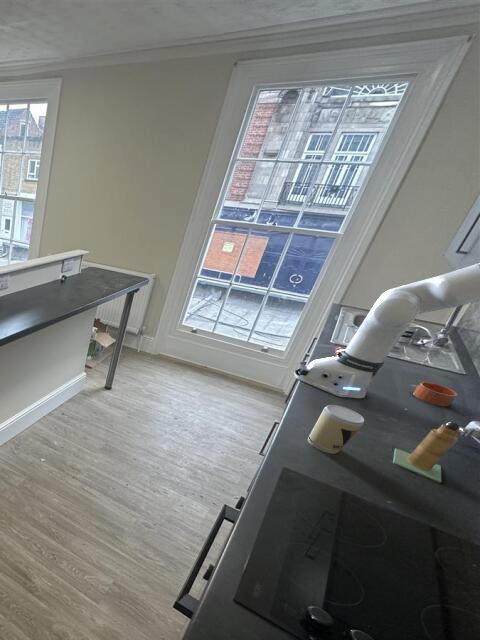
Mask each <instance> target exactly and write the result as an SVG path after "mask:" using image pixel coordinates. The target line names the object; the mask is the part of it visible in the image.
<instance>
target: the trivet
mask: <svg viewBox="0 0 480 640" xmlns="http://www.w3.org/2000/svg"><path fill="white" fill-rule="evenodd" d="M410 454H411V453H409V452H407V451H404V450H402V449H399V448H397V447H396V448H394V453H393V460H392V464H393V465H396V466H398V467H400V468H402V469H405V470H408V471H410V472H413V473H414V474H418V475H420V476H422V477H424V478H427V479H430V480H431V481H434V482H436V483H439V484H441V483H442V482H443V481H442V466H441V465H440V464H438V463H436V464H435V465H434V466H433V467H432V469H431V470H422V469H419V468H417V467H415V466H413V465H411V464H410V463H409V462H408V461H407V458H408V457H409V456H410Z"/></svg>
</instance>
